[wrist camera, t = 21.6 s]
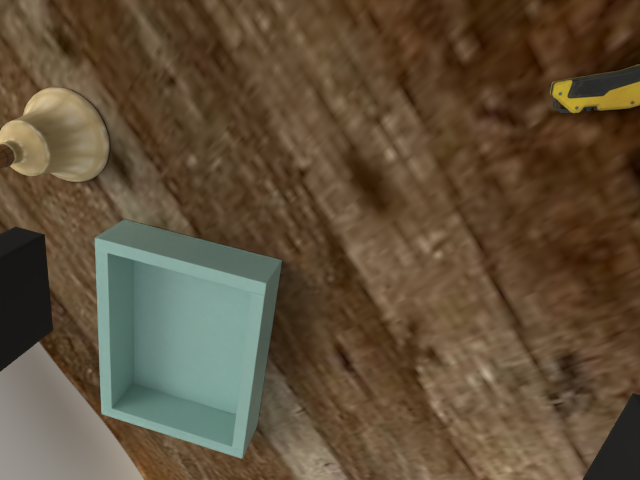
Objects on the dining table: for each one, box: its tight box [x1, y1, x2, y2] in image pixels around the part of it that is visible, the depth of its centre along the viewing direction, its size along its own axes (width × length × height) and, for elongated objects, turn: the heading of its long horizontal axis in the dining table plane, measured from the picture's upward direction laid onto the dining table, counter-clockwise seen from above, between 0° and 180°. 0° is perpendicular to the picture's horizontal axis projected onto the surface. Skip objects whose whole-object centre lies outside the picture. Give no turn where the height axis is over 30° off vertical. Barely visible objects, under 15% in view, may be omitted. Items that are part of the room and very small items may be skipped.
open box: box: [95, 219, 282, 459], centre depth 47 cm, size 20×15×4 cm
